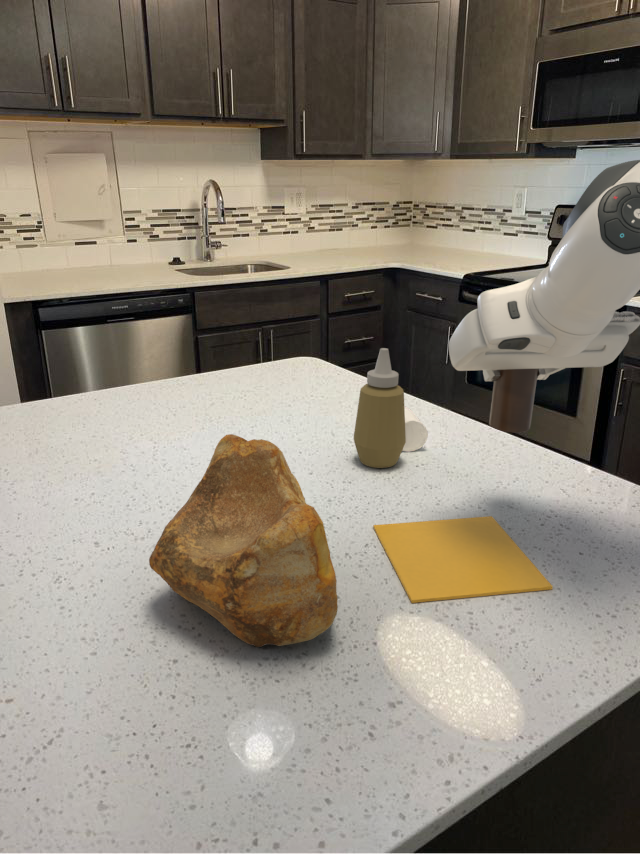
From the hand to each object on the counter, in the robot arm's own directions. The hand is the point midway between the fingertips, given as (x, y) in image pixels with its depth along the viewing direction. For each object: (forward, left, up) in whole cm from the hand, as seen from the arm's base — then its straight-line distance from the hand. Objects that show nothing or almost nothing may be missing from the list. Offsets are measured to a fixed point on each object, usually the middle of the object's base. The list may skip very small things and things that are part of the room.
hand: (513, 375), depth 85 cm
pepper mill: (0, +1, -7) cm, 7 cm away
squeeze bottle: (+13, -16, -18) cm, 27 cm away
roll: (+7, -25, -18) cm, 32 cm away
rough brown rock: (+37, +16, -18) cm, 44 cm away
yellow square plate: (+11, +12, -18) cm, 24 cm away
